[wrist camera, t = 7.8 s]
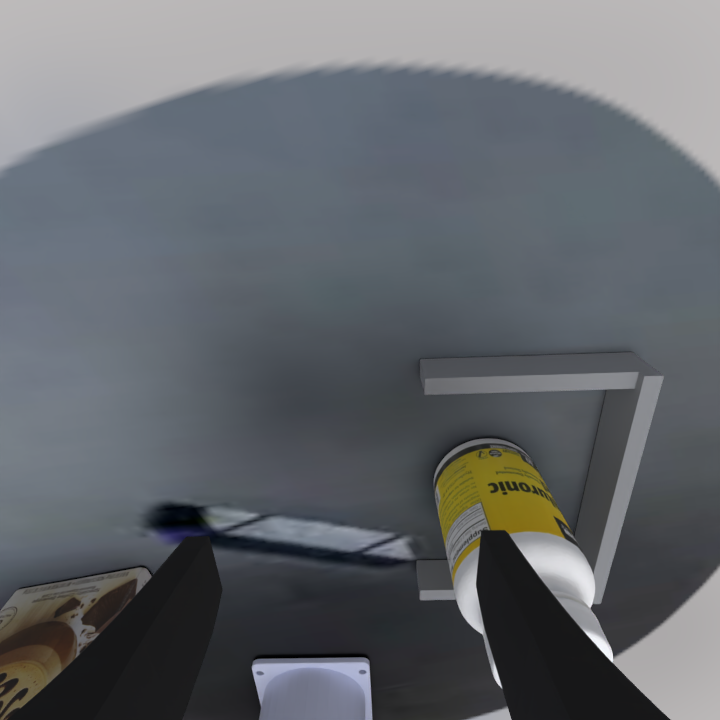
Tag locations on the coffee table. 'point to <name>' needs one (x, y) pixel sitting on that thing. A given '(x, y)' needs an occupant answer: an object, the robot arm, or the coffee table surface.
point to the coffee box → (56, 629)
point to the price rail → (611, 450)
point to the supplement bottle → (510, 529)
